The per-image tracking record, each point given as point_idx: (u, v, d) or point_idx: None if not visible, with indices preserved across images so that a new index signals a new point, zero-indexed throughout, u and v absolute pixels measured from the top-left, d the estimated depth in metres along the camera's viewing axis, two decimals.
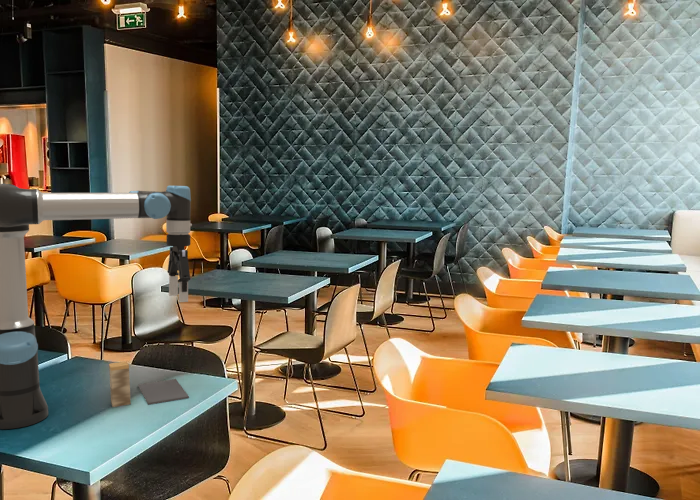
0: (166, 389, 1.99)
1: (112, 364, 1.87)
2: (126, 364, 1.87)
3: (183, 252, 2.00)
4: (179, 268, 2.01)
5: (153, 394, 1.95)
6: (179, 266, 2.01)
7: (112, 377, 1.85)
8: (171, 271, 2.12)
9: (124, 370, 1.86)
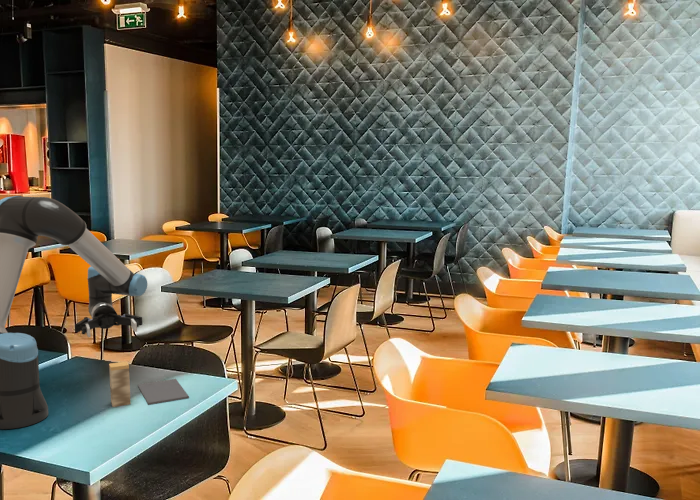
0: (166, 389, 1.99)
1: (112, 364, 1.87)
2: (126, 364, 1.87)
3: None
4: None
5: (153, 394, 1.95)
6: None
7: (112, 377, 1.85)
8: (88, 323, 2.01)
9: (124, 370, 1.86)
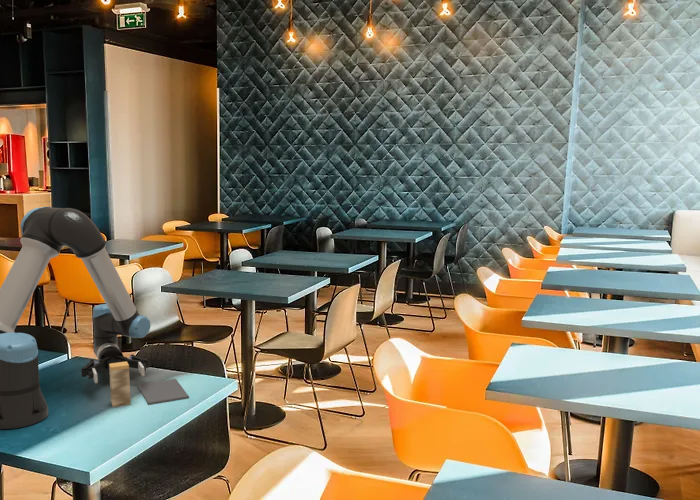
0: (166, 389, 1.99)
1: (112, 364, 1.87)
2: (126, 364, 1.87)
3: None
4: (133, 360, 2.05)
5: (153, 394, 1.95)
6: None
7: (112, 377, 1.85)
8: (95, 367, 1.97)
9: (124, 370, 1.86)
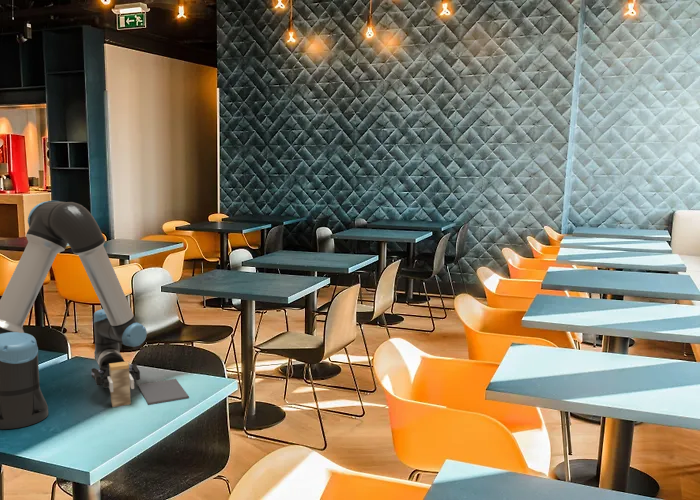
0: (166, 389, 1.99)
1: (112, 364, 1.87)
2: (126, 364, 1.87)
3: None
4: None
5: (153, 394, 1.95)
6: None
7: (112, 377, 1.85)
8: (108, 375, 1.90)
9: (124, 370, 1.86)
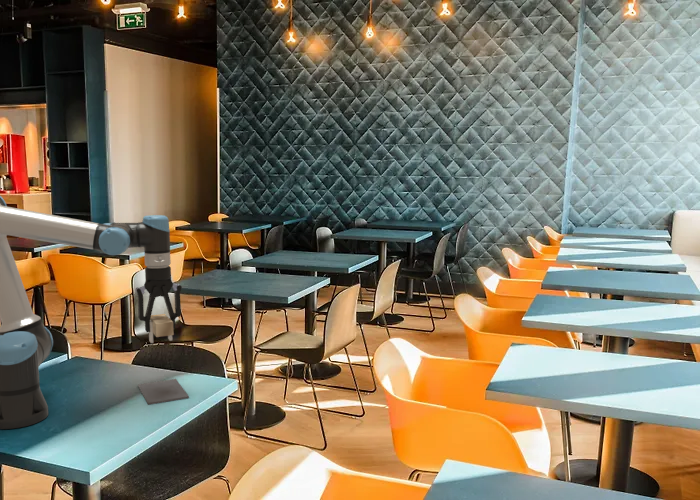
0: (166, 389, 1.99)
1: None
2: None
3: (136, 291, 1.91)
4: (147, 305, 1.94)
5: (153, 394, 1.95)
6: (148, 303, 1.94)
7: None
8: (168, 311, 1.97)
9: None
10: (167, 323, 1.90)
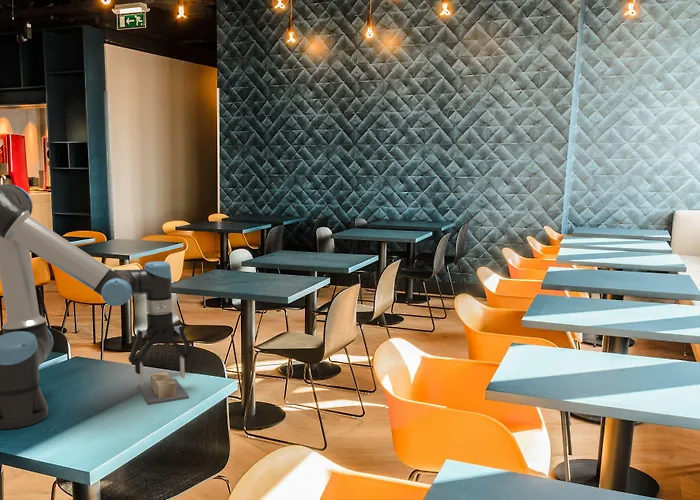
0: None
1: None
2: None
3: (137, 333, 1.93)
4: (142, 348, 1.95)
5: (153, 394, 1.95)
6: (143, 346, 1.95)
7: None
8: None
9: None
10: (169, 384, 1.92)
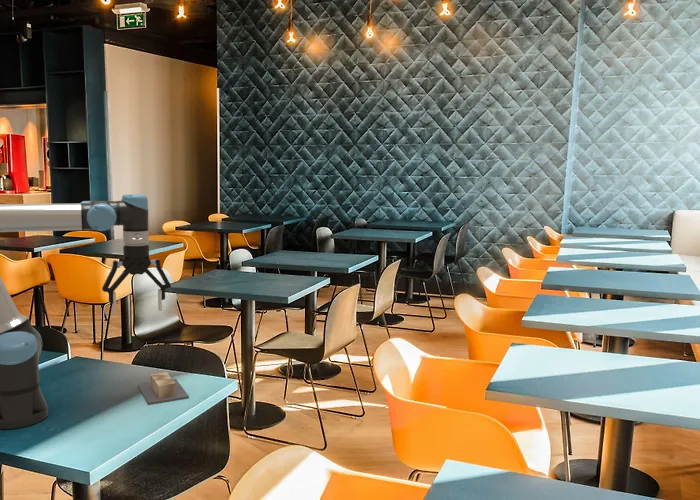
0: None
1: None
2: None
3: (113, 263, 1.94)
4: (117, 279, 1.96)
5: (153, 394, 1.95)
6: (118, 277, 1.96)
7: None
8: None
9: None
10: (169, 384, 1.92)
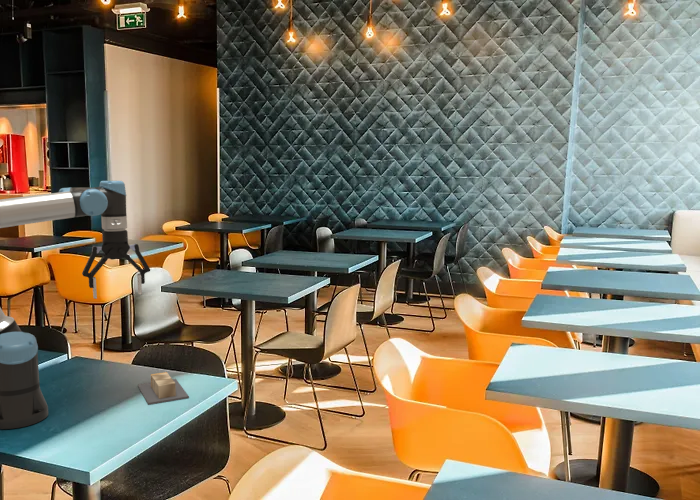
0: None
1: None
2: None
3: (92, 248, 1.98)
4: (97, 264, 2.00)
5: (153, 394, 1.95)
6: (98, 262, 2.00)
7: None
8: None
9: None
10: (169, 384, 1.92)
